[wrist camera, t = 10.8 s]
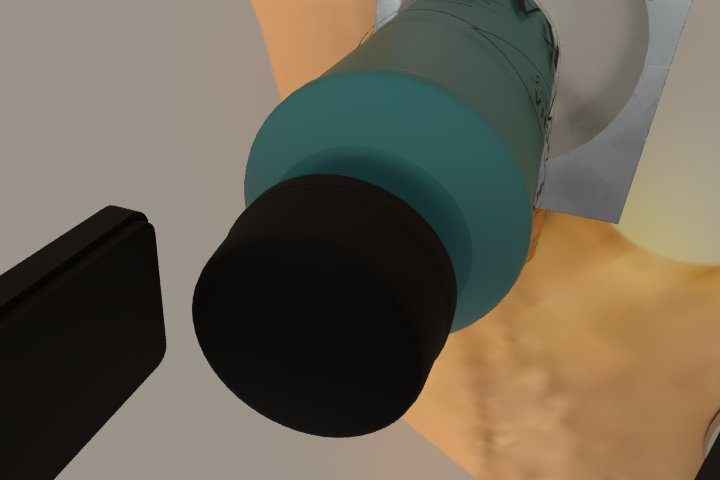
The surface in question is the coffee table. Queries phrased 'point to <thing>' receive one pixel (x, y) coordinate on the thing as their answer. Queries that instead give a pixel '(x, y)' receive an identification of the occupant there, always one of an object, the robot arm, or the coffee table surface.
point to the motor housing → (597, 99)
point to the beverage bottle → (382, 216)
